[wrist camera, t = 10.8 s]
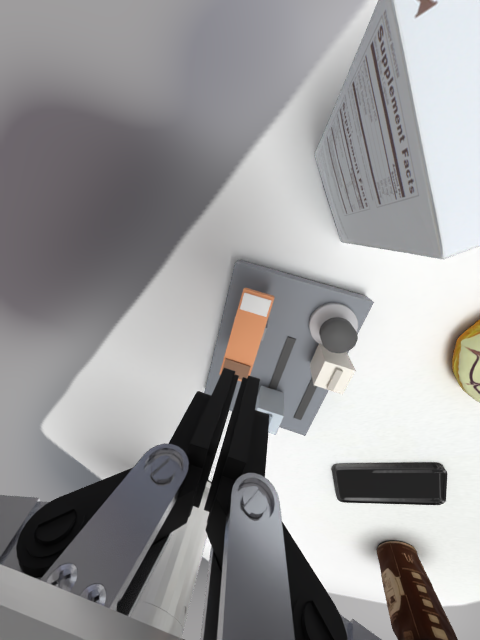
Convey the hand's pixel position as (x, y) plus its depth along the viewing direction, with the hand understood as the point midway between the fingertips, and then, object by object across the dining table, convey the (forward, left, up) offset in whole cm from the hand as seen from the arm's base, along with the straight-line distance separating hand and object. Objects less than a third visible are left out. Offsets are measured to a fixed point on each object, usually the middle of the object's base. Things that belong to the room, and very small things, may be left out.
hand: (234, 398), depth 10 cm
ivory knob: (-5, -9, -16) cm, 19 cm away
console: (-7, -3, -19) cm, 21 cm away
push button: (-1, -8, -14) cm, 16 cm away
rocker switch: (-3, +1, -13) cm, 13 cm away
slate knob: (-13, -4, -16) cm, 21 cm away
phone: (-23, -26, -20) cm, 40 cm away
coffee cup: (-38, -35, -19) cm, 55 cm away
